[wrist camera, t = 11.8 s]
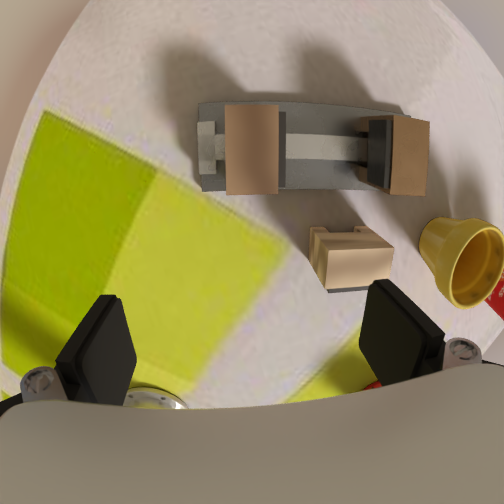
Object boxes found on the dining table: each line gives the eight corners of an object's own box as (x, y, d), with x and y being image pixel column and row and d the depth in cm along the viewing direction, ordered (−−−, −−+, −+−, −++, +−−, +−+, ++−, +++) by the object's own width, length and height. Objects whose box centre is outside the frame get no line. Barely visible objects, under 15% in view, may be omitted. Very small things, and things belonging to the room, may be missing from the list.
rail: (203, 189, 30) (193, 208, 23) (199, 104, 27) (188, 93, 19) (401, 189, 32) (442, 207, 24) (405, 115, 28) (448, 116, 21)
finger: (227, 181, 29) (226, 195, 23) (226, 112, 26) (224, 104, 20) (273, 180, 29) (285, 194, 23) (273, 112, 27) (286, 105, 20)
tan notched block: (361, 261, 35) (386, 288, 28) (307, 264, 35) (324, 294, 28) (366, 225, 33) (394, 247, 27) (310, 226, 33) (328, 250, 26)
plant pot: (398, 222, 33) (445, 253, 24) (455, 190, 32) (505, 211, 23) (413, 286, 37) (451, 325, 28) (465, 253, 36) (506, 283, 27)
